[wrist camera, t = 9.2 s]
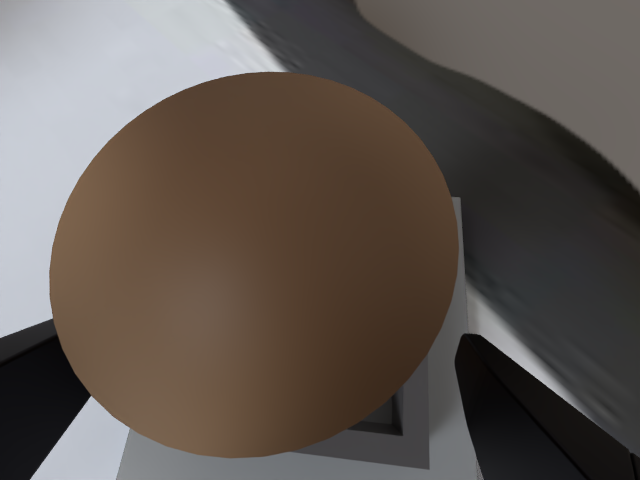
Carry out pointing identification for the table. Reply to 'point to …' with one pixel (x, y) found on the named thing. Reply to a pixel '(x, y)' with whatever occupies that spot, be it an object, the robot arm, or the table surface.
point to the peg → (254, 265)
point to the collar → (356, 429)
